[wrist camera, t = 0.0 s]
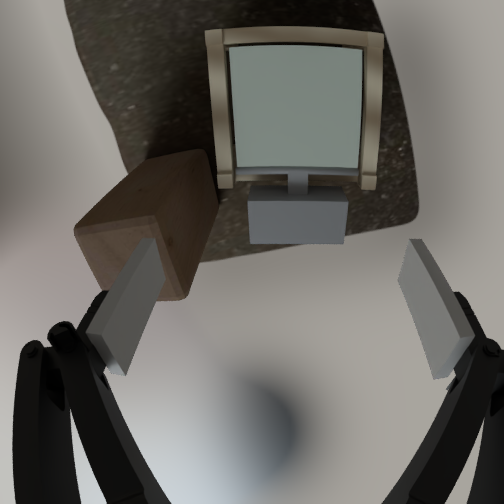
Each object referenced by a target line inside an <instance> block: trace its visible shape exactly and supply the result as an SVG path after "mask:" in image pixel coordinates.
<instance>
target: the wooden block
mask: <svg viewBox="0 0 504 504" xmlns="http://www.w3.org/2000/svg"><path fill="white" fill-rule="evenodd" d="M218 209H219V204H218V199H217V195H216V191H215V187H214V182H213V178H212V174H211V169H210V165H209V161H208V156H207V153H206V152H205V150H203V149H193V150H188V151H183V152H178V153H173V154H169V155H164V156H159V157H155V158H150V159H146V160H145V161H143V162H142V163H141V164H140V165H139V166H137V167H136V168H135V169H134V170H133V171H132V172H131V173H129V174H128V175H127V176H126V177H125V178H124V179H123V180H122V181H120V182H119V183H118V184H117V185H116V186H115V187H114V188H113V189H112V190H111V191H110V192H108V193H107V194H106V195H105V196H104V197H103V198H102V199H101V200H100V201H99V202H98V203H97V204H96V205H95V206H94V207H93V208H92V209H91V210H90V211H89V212H88V213H87V214H86V215H85V216H84V217H83V218H82V219H81V220H80V221H79V222H78V223H77V224H76V225H75V227H74V236H75V238H76V240H77V242H78V244H79V246H80V248H81V250H82V252H83V254H84V256H85V259H86V261H87V262H88V265H89V266H90V268H91V270H92V272H93V274H94V276H95V278H96V280H97V282H98V284H99V286H100V287H101V289H102V291H103V290H110V288H111V287H112V285H113V283H114V282H115V280H116V279H117V277H118V275H119V274H120V272H121V270H122V269H123V267H124V266H125V264H126V262H127V261H128V259H129V258H130V256H131V254H132V253H133V251H134V250H135V248H136V247H137V245H138V244H139V242H140V241H141V239H142V238H155V240H156V244H157V248H158V252H159V256H160V260H161V263H162V267H163V271H164V275H165V278H166V280H165V282H164V284H163V287H162V289H161V291H160V293H159V296H158V298H157V300H156V301H176V300H182V299H185V298H186V297H187V296H188V294H189V291H190V288H191V285H192V282H193V279H194V276H195V273H196V271H197V268H198V265H199V262H200V259H201V256H202V254H203V251H204V248H205V245H206V243H207V240H208V237H209V234H210V232H211V229H212V226H213V223H214V221H215V218H216V215H217V213H218Z"/></svg>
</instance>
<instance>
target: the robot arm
mask: <svg viewBox="0 0 504 504" xmlns="http://www.w3.org/2000/svg"><path fill="white" fill-rule="evenodd" d="M165 280H166V278H165V275H164V271H163V267H162V263H161V260H160V256H159V252H158V248H157V244H156V240H155V238H142V239H141V241H140V242H139V244H138V245H137V247H136V248H135V250H134V251H133V253H132V254H131V256H130V258H129V259H128V261H127V262H126V264H125V266H124V267H123V269H122V270H121V272H120V274H119V275H118V277H117V279H116V280H115V282H114V283H113V285H112V287H111V288H110V290H103V291H102V292H100V293H99V294H98V295H97V296H96V297H95V299H94V300H93V302H92V303H91V307H89V308H88V310H87V313H86V314H85V315H84V317H83V319H82V320H81V322H80V324H79V326H78V327H77V329H75V328H74V326H73V325H72V323H70V322H68V321H63V322H59V323H57V324H55V325H54V326H53V327H52V328H51V329H50V330H49V333H48V336H47V339H48V341H49V342H50V344H51V345H52V347H44V346H43V345H42V343H41V342H40V341H38V340H33V341H30V342H28V343H27V344H26V345H25V346H24V347H23V348H22V351H21V353H20V359H19V366H18V373H17V381H16V390H15V400H14V414H13V442H12V445H13V447H12V451H13V478H14V491H15V500H16V504H81V499H80V494H79V489H78V483H77V476H76V469H75V462H74V453H73V444H72V433H71V419H70V409H71V412H72V416H73V419H74V422H75V425H76V428H77V431H78V434H79V437H80V440H81V442H82V445H83V448H84V451H85V453H86V456H87V458H88V461H89V463H90V466H91V468H92V471H93V473H94V475H95V478H96V480H97V482H98V484H99V487H100V489H101V491H102V493H103V495H104V497H105V499H106V502H107V504H171V502H170V501H169V500H168V498H167V497H166V495H165V493H164V492H163V490H162V489H161V487H160V485H159V484H158V482H157V480H156V479H155V477H154V475H153V474H152V472H151V470H150V468H149V467H148V465H147V463H146V461H145V459H144V458H143V456H142V454H141V452H140V450H139V448H138V446H137V444H136V442H135V441H134V438H133V437H132V434H131V433H130V430H129V428H128V426H127V424H126V422H125V420H124V418H123V416H122V414H121V411H120V410H119V407H118V405H117V402H116V400H115V398H114V395H113V393H112V391H111V388H110V386H109V383H108V381H107V378H106V376H105V374H104V373H103V372H104V369H105V367H106V366H107V368H108V369H109V371H110V372H111V373H113V374H117V375H123V376H126V374H127V371H128V369H129V366H130V364H131V361H132V359H133V356H134V353H135V351H136V348H137V346H138V343H139V341H140V338H141V336H142V333H143V331H144V329H145V326H146V324H147V321H148V319H149V317H150V314H151V312H152V310H153V307H154V305H155V303H156V300H157V298H158V296H159V293H160V291H161V289H162V287H163V284H164V282H165ZM398 282H399V285H400V287H401V289H402V292H403V294H404V297H405V299H406V302H407V304H408V307H409V310H410V312H411V315H412V317H413V320H414V323H415V325H416V328H417V331H418V334H419V336H420V339H421V342H422V345H423V348H424V351H425V354H426V357H427V360H428V363H429V366H430V369H431V372H432V376H433V379H439V378H445V377H448V376H449V375H450V373H451V372H452V370H453V369H454V371H455V374H456V376H455V378H454V379H453V380H452V382H451V383H450V384H449V386H448V387H447V388H446V390H448V389H449V390H448V392H447V395H446V397H445V399H444V401H443V403H442V405H441V407H440V409H439V411H438V414H437V416H436V418H435V420H434V421H433V423H432V425H431V427H430V429H429V431H428V433H427V435H426V436H425V438H424V440H423V442H422V443H421V445H420V447H419V449H418V450H417V452H416V454H415V455H414V457H413V459H412V460H411V462H410V464H409V465H408V467H407V468H406V470H405V471H404V473H403V474H402V476H401V477H400V479H399V480H398V482H397V483H396V485H395V486H394V487H393V489H392V490H391V492H390V493H389V494H388V496H387V497H386V498H385V500H384V501H383V503H382V504H445V502H446V500H447V499H448V497H449V495H450V493H451V491H452V490H453V488H454V486H455V484H456V482H457V480H458V478H459V476H460V474H461V472H462V470H463V468H464V466H465V464H466V461H467V459H468V457H469V455H470V453H471V450H472V448H473V446H474V443H475V440H476V438H477V436H478V433H479V431H480V428H481V425H482V423H483V420H484V425H483V432H482V439H481V445H480V451H479V456H478V461H477V466H476V471H475V475H474V479H473V483H472V487H471V491H470V494H469V498H468V501H467V504H504V350H501V348H500V346H499V345H498V343H497V342H495V341H494V340H492V339H489V338H487V337H486V335H485V334H484V331H483V329H482V328H481V326H480V323H479V322H478V319H477V317H476V316H475V315H474V312H473V310H472V309H471V306H470V305H469V303H468V301H467V299H466V298H465V297H464V296H463V295H462V294H461V293H460V292H453V291H452V289H451V287H450V286H449V284H448V282H447V280H446V279H445V277H444V275H443V273H442V272H441V270H440V268H439V267H438V265H437V263H436V262H435V260H434V258H433V257H432V255H431V253H430V252H429V250H428V249H427V247H426V245H425V244H424V242H423V241H422V239H409V241H408V245H407V249H406V253H405V257H404V261H403V264H402V268H401V271H400V274H399V278H398Z"/></svg>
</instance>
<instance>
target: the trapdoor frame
mask: <svg viewBox="0 0 504 504" xmlns="http://www.w3.org/2000/svg"><path fill="white" fill-rule="evenodd" d="M205 40H206V46H207V55H208V69H209V82H210V94H211V106H212V118H213V129H214V140H215V151H216V161H217V171H218V174H217V180H218V189H224V188H233V187H234V184H235V181H262V180H288V174H249V175H236V167H237V157H236V144H233V145H232V135H231V121H230V107H229V93H228V78H227V63H226V51H229V48H230V47H238V44H243V43H264V42H304V43H326V44H339V45H342V48H350V49H359V50H362V51H364V100H363V123H362V140H361V154H360V155H359V156H358V170H359V174H358V176H349V175H316V174H308V181H345V182H357V183H358V184H359V186H360V188H361V189H366V190H375V187H376V179H377V176H376V168H377V158H378V148H379V136H380V122H381V104H382V74H383V49H384V34H381V33H375V32H364V31H356V30H347V29H336V28H323V27H300V26H267V27H245V28H231V29H215V30H207V31H205ZM255 167H259V166H255ZM308 167H312V166H308ZM343 168H345V167H343Z"/></svg>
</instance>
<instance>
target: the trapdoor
mask: <svg viewBox="0 0 504 504" xmlns="http://www.w3.org/2000/svg"><path fill="white" fill-rule="evenodd" d="M229 54H230V69H231V84H232V99H233V114H234V129H235V143H236V157H237V167H236V175H249V174H288V186H251V188H250V192H249V197H248V216H249V232H250V244H343V243H344V236H345V228H346V219H347V210H348V200H347V198H346V196H345V193H344V191H343V189H342V187H341V186H308V174H316V175H349V176H358V174H359V170H358V156H359V141H360V124H361V100H362V50H359V49H350V48H339V47H325V46H302V45H267V46H244V47H230V48H229ZM255 166H259V167H255ZM308 166H312V167H308ZM343 167H345V168H343Z"/></svg>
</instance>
